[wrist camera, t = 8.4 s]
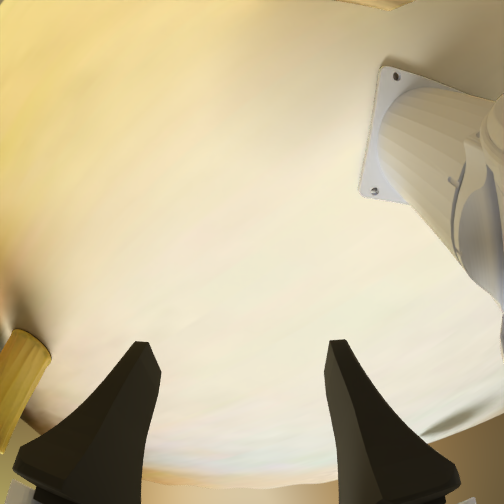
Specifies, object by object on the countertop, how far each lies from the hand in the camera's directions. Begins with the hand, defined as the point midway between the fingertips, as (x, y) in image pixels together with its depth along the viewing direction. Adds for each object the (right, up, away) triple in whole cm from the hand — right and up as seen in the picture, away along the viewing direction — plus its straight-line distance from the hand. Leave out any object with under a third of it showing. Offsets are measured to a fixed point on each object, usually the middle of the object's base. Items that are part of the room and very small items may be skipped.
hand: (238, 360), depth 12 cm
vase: (-26, -7, +17) cm, 32 cm away
